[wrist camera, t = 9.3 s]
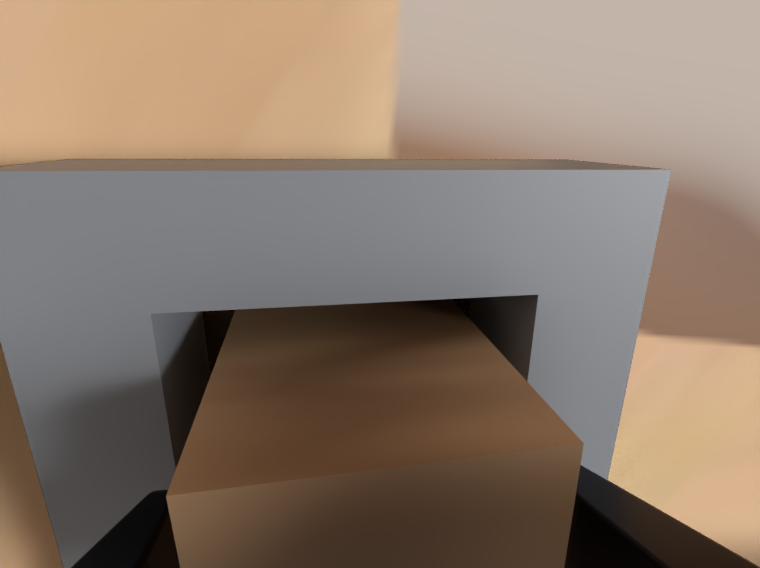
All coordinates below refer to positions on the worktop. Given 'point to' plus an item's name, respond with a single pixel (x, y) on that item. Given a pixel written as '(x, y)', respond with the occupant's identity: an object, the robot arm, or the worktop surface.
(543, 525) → the peg
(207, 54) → the worktop surface
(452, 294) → the socket block
